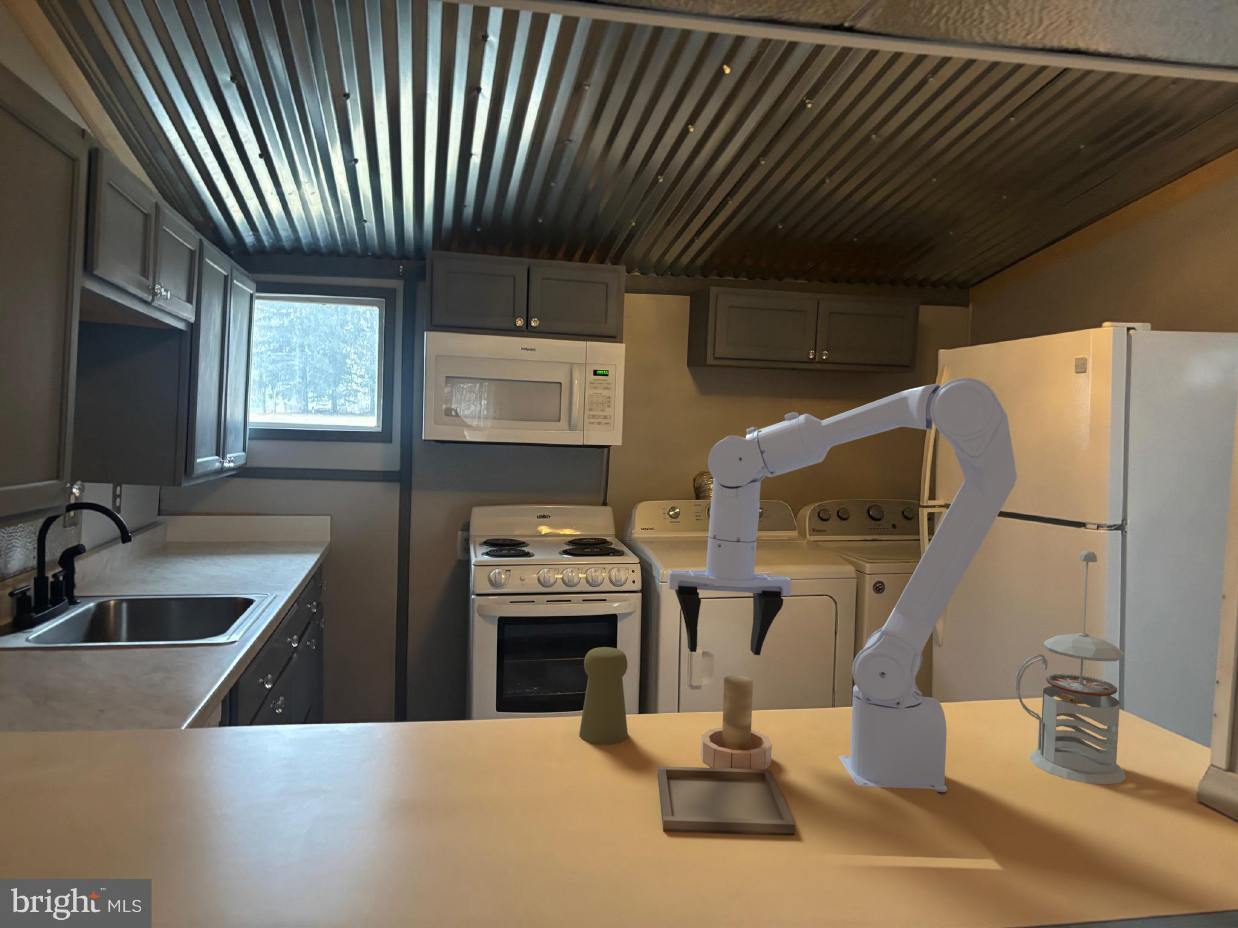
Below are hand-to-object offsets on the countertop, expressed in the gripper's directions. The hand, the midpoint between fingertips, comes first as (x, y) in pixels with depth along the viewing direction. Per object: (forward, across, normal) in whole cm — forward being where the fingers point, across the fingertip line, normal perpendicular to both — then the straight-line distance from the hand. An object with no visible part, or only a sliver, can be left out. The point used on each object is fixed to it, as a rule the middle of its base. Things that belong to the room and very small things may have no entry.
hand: (723, 651), depth 96 cm
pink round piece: (+11, -1, +6) cm, 13 cm away
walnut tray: (+11, +3, +17) cm, 20 cm away
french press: (+10, -40, +6) cm, 42 cm away
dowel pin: (+10, -1, +6) cm, 12 cm away
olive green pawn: (+12, +14, -1) cm, 18 cm away
